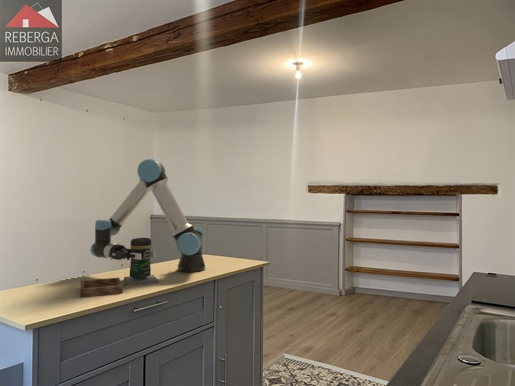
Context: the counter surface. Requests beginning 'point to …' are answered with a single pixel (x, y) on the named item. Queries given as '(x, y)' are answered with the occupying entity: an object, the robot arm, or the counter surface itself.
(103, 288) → the walnut frame
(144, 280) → the grey board
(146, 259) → the coffee jar
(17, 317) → the counter surface
